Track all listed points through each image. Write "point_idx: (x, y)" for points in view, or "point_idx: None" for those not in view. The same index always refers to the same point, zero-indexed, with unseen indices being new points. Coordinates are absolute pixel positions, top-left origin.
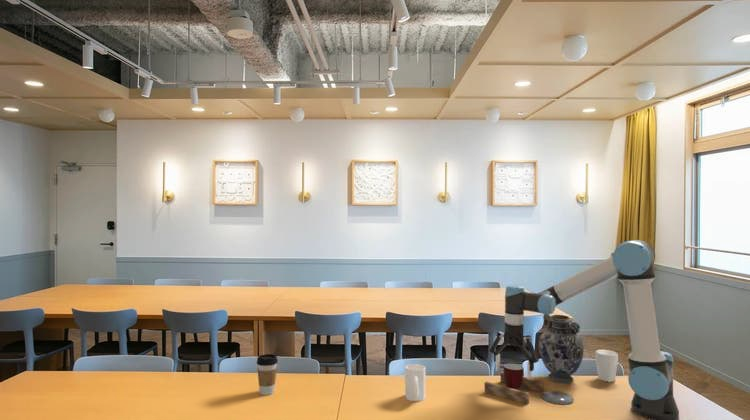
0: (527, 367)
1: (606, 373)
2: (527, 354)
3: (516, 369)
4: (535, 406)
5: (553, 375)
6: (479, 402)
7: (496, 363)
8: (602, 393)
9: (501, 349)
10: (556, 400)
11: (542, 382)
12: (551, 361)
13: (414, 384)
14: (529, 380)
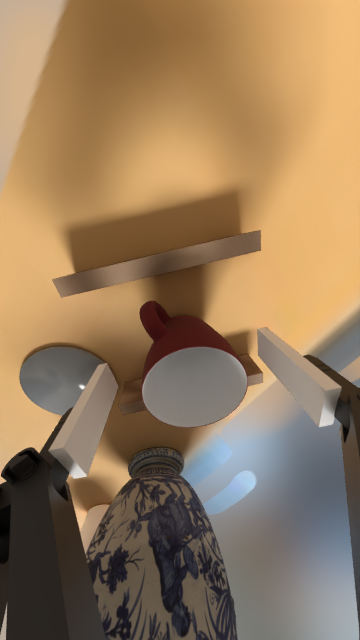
0: (80, 413)
1: (86, 531)
2: (9, 568)
3: (200, 401)
4: (48, 282)
5: (164, 464)
6: (196, 101)
7: (287, 349)
8: None
9: (352, 481)
10: (49, 366)
11: (121, 410)
12: (144, 517)
13: None
14: None
